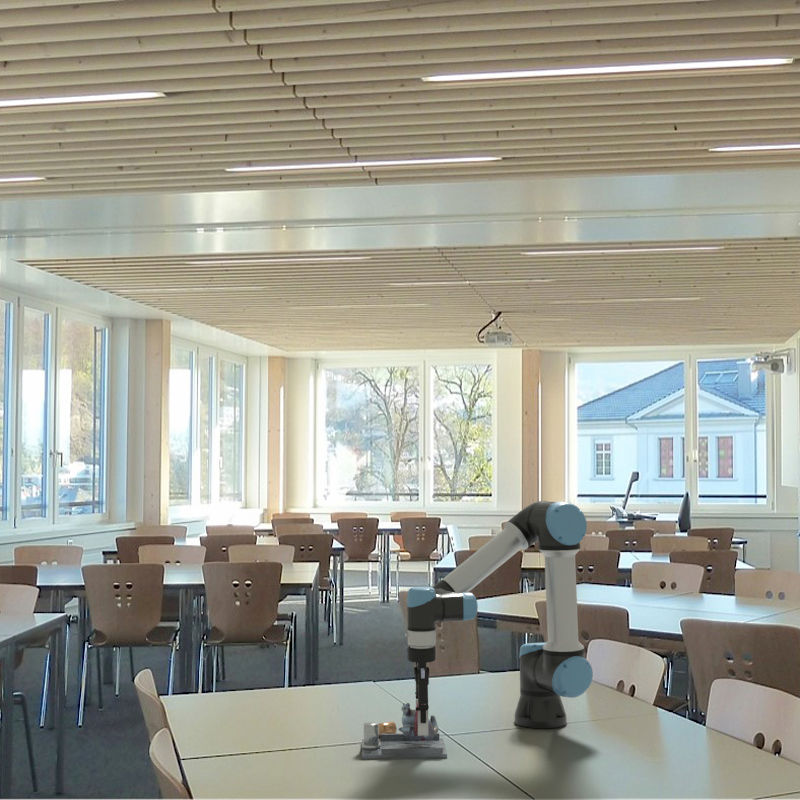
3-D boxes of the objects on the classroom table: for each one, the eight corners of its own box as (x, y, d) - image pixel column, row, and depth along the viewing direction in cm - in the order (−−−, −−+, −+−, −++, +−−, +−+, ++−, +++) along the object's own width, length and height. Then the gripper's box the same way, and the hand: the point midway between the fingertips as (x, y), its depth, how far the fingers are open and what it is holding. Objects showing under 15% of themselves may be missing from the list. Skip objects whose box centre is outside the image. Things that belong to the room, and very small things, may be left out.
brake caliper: (440, 734, 280) (413, 695, 282) (408, 758, 282) (381, 720, 284) (449, 724, 291) (423, 687, 293) (418, 747, 293) (392, 710, 295)
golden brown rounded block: (389, 732, 306) (390, 719, 306) (396, 736, 303) (396, 723, 303) (371, 735, 303) (371, 722, 302) (377, 739, 299) (378, 726, 299)
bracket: (442, 741, 295) (442, 715, 295) (447, 757, 279) (446, 730, 280) (361, 743, 294) (361, 717, 295) (361, 759, 278) (361, 731, 279)
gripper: (405, 639, 300) (406, 719, 299) (409, 653, 277) (409, 741, 275) (432, 638, 300) (433, 719, 299) (438, 653, 277) (438, 740, 276)
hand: (422, 729), depth 287 cm, fingers closed on brake caliper, 11 cm apart
